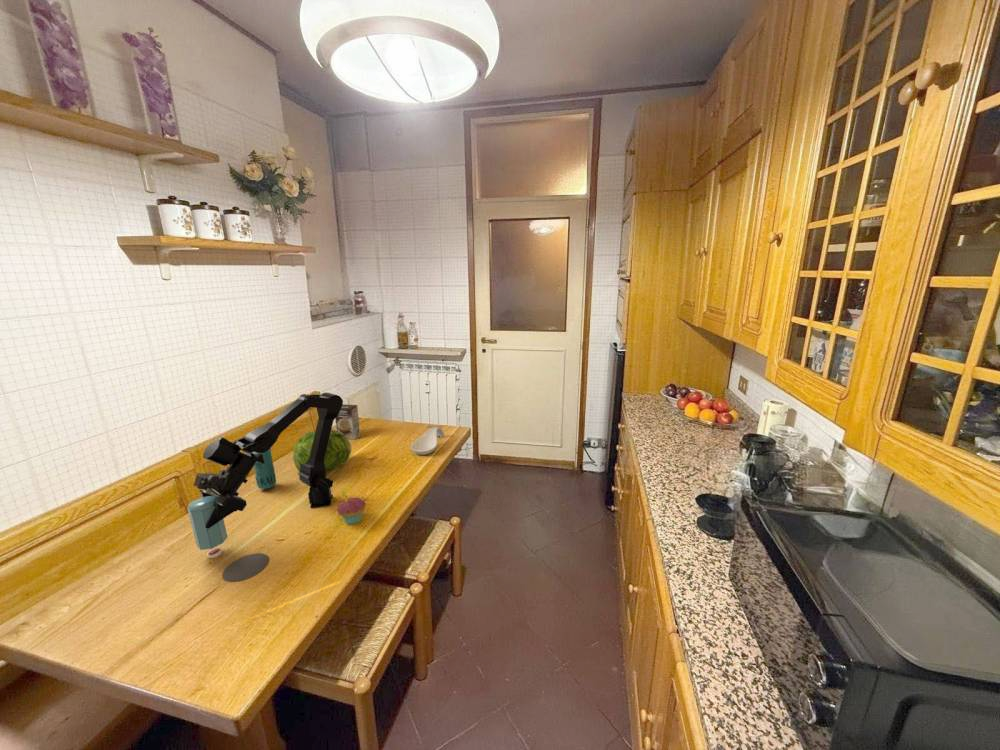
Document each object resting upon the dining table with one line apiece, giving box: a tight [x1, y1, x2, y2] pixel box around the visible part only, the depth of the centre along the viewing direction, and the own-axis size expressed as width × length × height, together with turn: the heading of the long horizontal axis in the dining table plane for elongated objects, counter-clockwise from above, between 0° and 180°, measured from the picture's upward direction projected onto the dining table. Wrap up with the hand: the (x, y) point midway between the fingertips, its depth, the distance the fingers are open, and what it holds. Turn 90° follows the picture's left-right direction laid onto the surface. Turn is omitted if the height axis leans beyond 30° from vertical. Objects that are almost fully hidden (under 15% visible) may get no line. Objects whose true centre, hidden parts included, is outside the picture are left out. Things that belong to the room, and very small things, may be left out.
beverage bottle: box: [251, 447, 277, 490], centre depth 149 cm, size 6×7×20 cm
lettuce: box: [292, 429, 352, 473], centre depth 164 cm, size 18×23×19 cm
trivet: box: [221, 552, 270, 583], centre depth 109 cm, size 11×11×1 cm
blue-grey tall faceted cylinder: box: [187, 496, 228, 551], centre depth 112 cm, size 7×7×13 cm
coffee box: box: [334, 403, 361, 440], centre depth 196 cm, size 9×6×16 cm
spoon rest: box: [410, 426, 445, 456], centre depth 184 cm, size 24×12×7 cm, turn 166°
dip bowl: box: [206, 547, 223, 559], centre depth 115 cm, size 4×4×1 cm
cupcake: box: [336, 487, 367, 525], centre depth 129 cm, size 9×8×12 cm
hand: (202, 523), depth 111 cm, fingers closed on blue-grey tall faceted cylinder, 7 cm apart
